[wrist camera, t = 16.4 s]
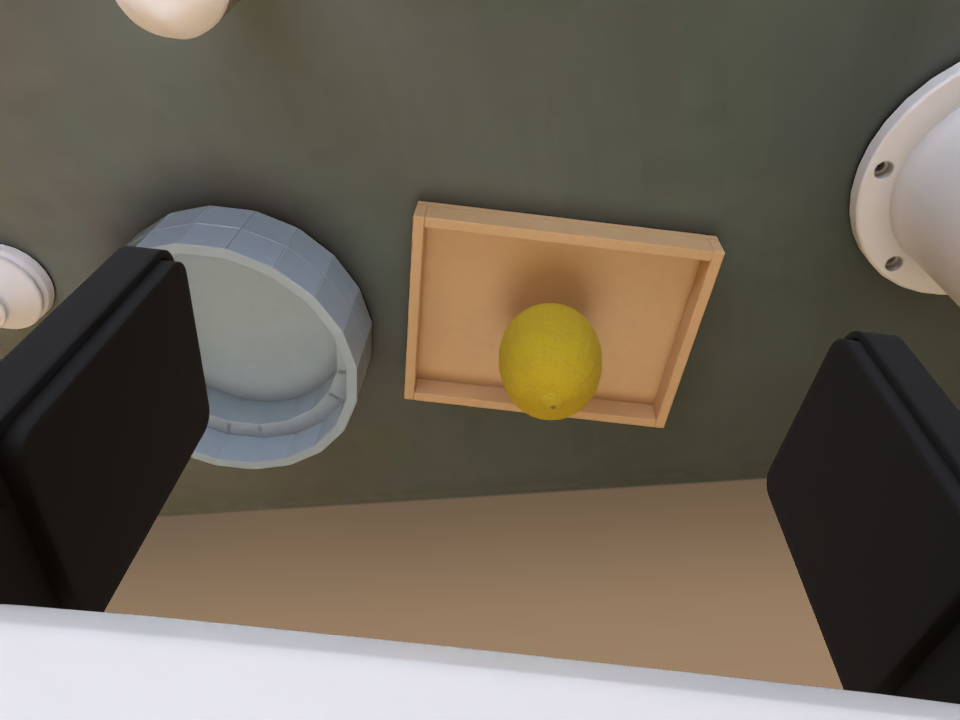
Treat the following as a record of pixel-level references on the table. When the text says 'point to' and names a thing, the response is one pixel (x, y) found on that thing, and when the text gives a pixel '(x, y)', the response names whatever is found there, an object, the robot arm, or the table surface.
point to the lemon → (550, 361)
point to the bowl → (268, 334)
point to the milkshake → (176, 15)
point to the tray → (553, 279)
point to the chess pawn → (22, 289)
